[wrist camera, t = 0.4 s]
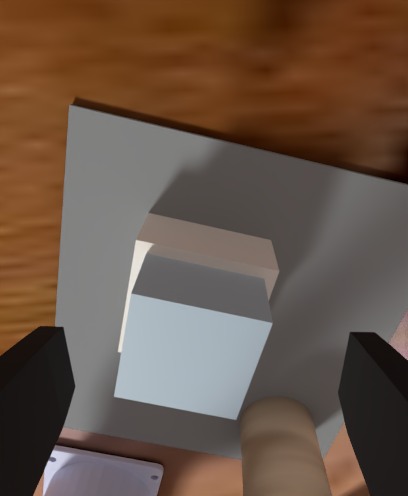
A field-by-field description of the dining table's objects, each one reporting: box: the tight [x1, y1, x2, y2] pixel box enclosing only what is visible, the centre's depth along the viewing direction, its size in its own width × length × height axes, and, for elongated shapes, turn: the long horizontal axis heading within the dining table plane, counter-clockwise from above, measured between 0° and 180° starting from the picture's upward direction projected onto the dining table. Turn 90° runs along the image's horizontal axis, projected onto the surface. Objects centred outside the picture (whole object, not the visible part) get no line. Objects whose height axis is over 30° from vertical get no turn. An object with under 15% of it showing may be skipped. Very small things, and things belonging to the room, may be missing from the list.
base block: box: [118, 213, 279, 353], centre depth 19 cm, size 6×6×3 cm
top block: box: [114, 253, 273, 420], centre depth 16 cm, size 5×5×3 cm
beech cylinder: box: [240, 397, 332, 496], centre depth 22 cm, size 4×4×5 cm
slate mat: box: [55, 104, 408, 460], centre depth 21 cm, size 20×18×1 cm
